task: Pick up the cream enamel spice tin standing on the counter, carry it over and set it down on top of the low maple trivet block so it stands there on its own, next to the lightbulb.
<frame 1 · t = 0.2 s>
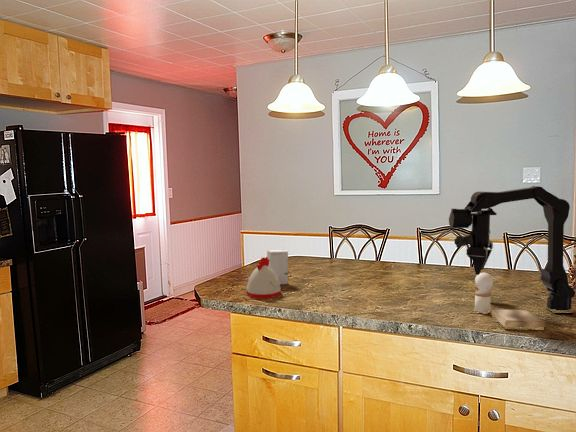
hand: (479, 271, 164), 14 cm above the worktop, tool pointing down, fingers open, 9 cm apart
spice tin: (482, 312, 164), on the worktop
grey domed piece: (263, 294, 191), on the worktop
lightbulb: (483, 301, 177), on the worktop
skincare box: (277, 283, 207), on the worktop
trivet block: (516, 323, 151), on the worktop
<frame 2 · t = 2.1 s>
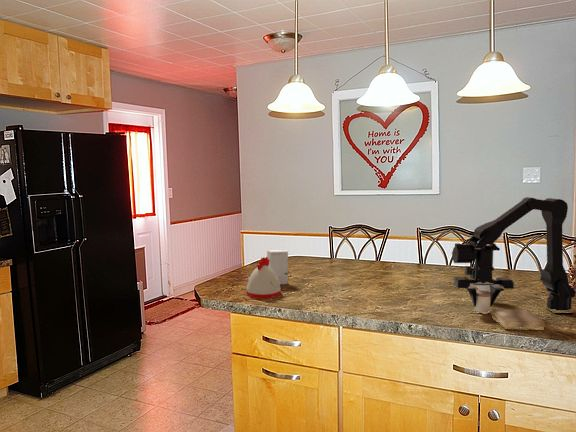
hand: (482, 306, 163), 2 cm above the worktop, tool pointing down, fingers closed on spice tin, 5 cm apart
spice tin: (482, 312, 164), on the worktop, touching gripper
everything else where it was.
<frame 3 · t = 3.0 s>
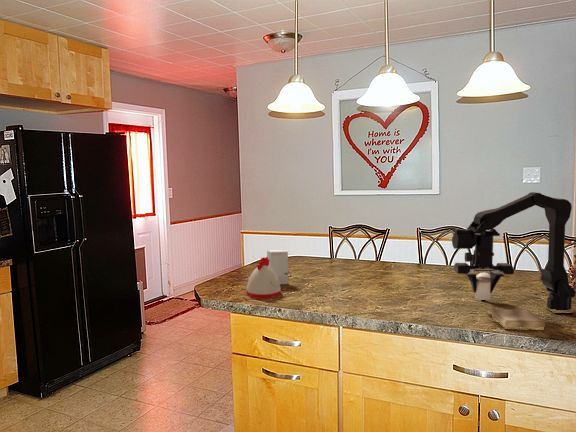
hand: (482, 292, 163), 7 cm above the worktop, tool pointing down, fingers closed on spice tin, 5 cm apart
spice tin: (482, 298, 163), point 5 cm above the worktop, touching gripper
everything else where it was.
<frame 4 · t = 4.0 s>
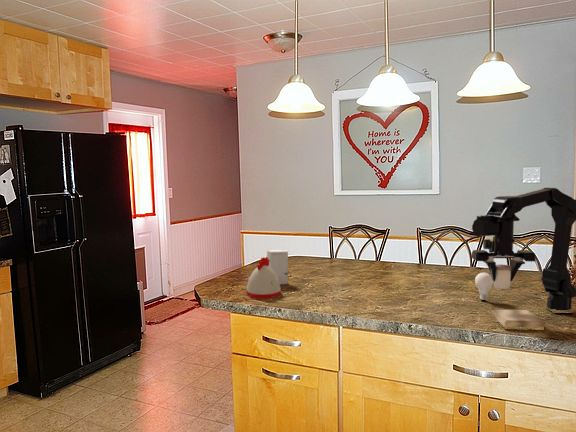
hand: (502, 281, 155), 13 cm above the worktop, tool pointing down, fingers closed on spice tin, 5 cm apart
spice tin: (501, 287, 156), point 11 cm above the worktop, touching gripper
everything else where it was.
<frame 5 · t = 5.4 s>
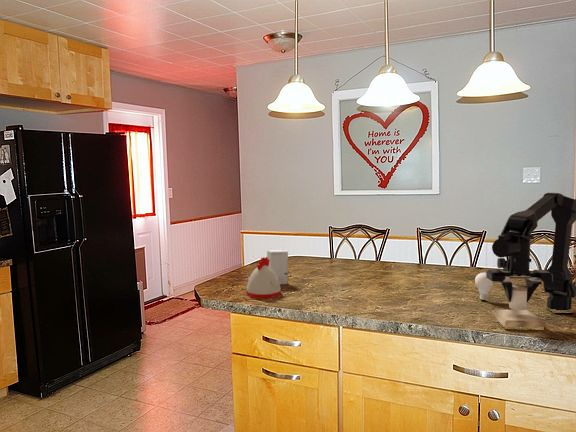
hand: (517, 301, 150), 7 cm above the worktop, tool pointing down, fingers closed on spice tin, 5 cm apart
spice tin: (517, 307, 151), point 5 cm above the worktop, touching gripper
everything else where it was.
when the fingers open (6 cm above the worktop, at t = 6.1 s): spice tin stays where it is, resting on trivet block.
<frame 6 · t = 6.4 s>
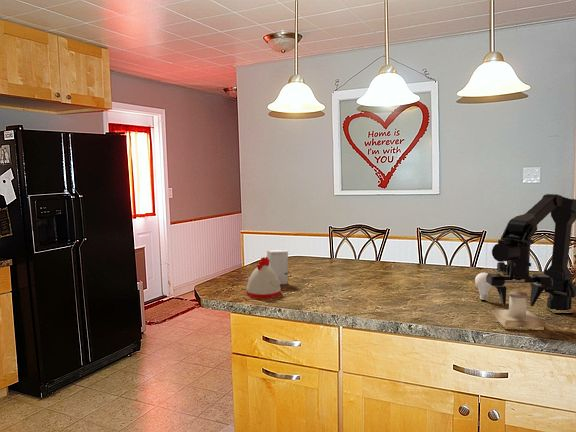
hand: (517, 305, 151), 6 cm above the worktop, tool pointing down, fingers open, 8 cm apart
spice tin: (517, 314, 151), point 3 cm above the worktop, touching trivet block
everything else where it was.
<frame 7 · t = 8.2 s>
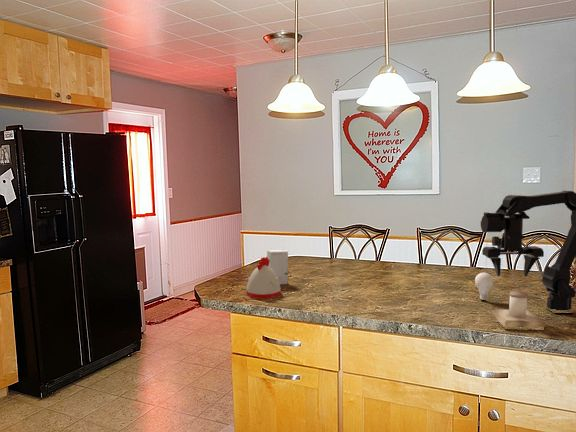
hand: (511, 276, 162), 13 cm above the worktop, tool pointing down, fingers open, 9 cm apart
nothing on the worktop moved.
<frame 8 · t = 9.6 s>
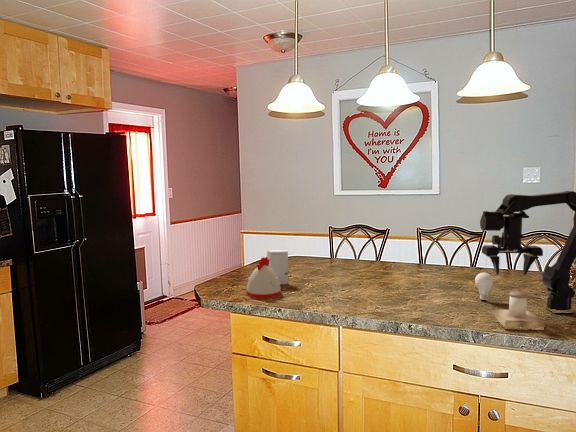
hand: (510, 274, 163), 13 cm above the worktop, tool pointing down, fingers open, 9 cm apart
nothing on the worktop moved.
at the end: spice tin inside the target area on the trivet block (0.0 cm from its centre), point 3.0 cm above the trivet block's base; spice tin tilted 1°; the gripper is holding nothing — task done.
